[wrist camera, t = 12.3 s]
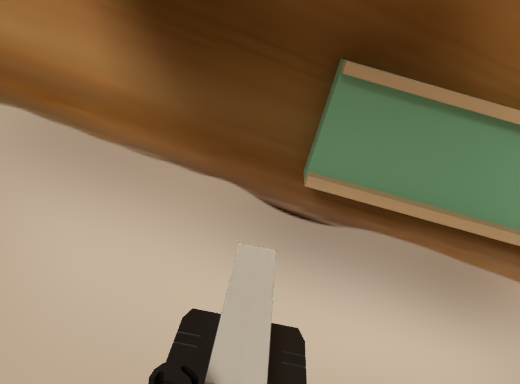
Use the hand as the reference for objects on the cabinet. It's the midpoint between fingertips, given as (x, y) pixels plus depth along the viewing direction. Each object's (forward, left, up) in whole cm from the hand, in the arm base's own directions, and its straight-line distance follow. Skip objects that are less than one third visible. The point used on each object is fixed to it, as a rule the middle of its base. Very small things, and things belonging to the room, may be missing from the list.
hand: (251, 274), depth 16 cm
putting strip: (-3, +21, -24) cm, 31 cm away
